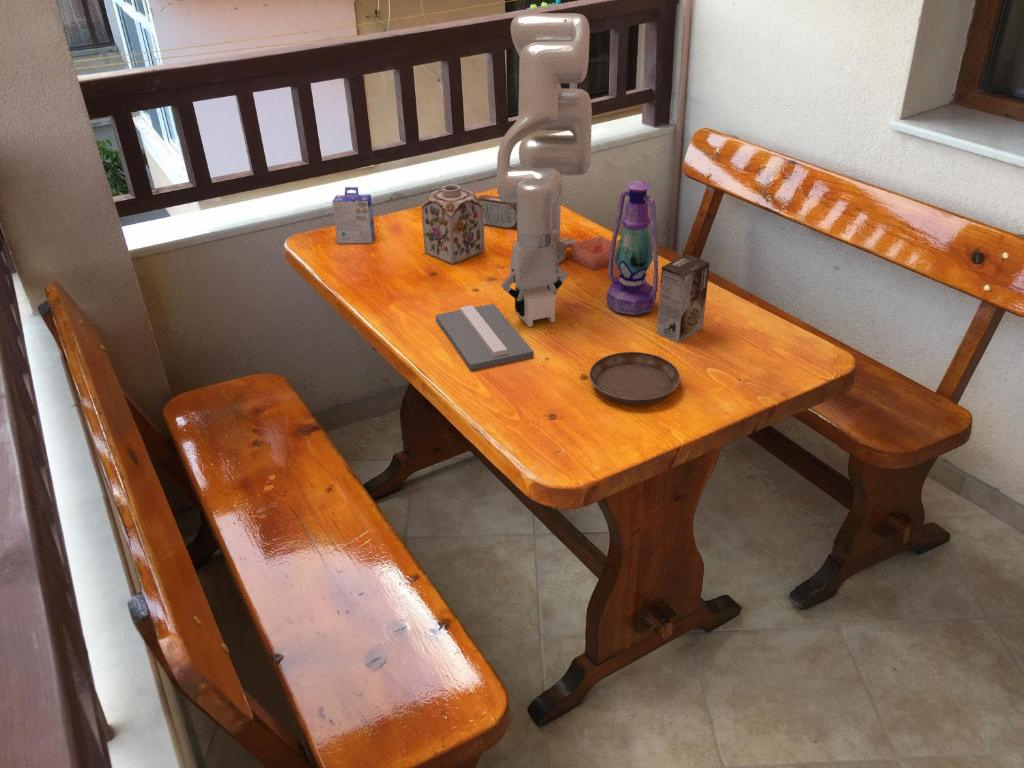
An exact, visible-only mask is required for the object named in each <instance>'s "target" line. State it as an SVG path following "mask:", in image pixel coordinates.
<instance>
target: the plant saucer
mask: <svg viewBox="0 0 1024 768" xmlns="http://www.w3.org/2000/svg"><path fill="white" fill-rule="evenodd" d="M588 375H589V376H588V377H589V380H590V382H591V384H592V385H593V386H594V387H595V389H596V390H597V391H598V392H599V393H600V394H601V395H602V396H603V397H605V398H607V399H608V400H610V401H612V402H615V403H617V404H621V405H627V406H634V407H635V406H636V407H637V406H646V405H647V406H648V405H651V404H655V403H656V404H657V402H660V401H662V400H664V399H665V398H667V397H668V396H669V395H671V394H672V393H673V392H674V391H675V389H676V388H677V387H678V386H679V384H680V380H681V375H680V372H679V370H678V368H677V367H676V366H675V365H674V364H673V363H672V362H670V361H669V360H667V359H665V358H662V357H661V356H658V355H655V354H653V353H652V354H651V353H646V352H640V351H639V352H638V351H625V352H624V351H623V352H617V353H613V354H612V353H611V354H608V355H606V356H604V357H602V358H600V359H598V360H596V361H595V363H593V364H592V365H591V367H590V369H589V374H588Z"/></svg>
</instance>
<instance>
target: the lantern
mask: <svg viewBox="0 0 1024 768" xmlns="http://www.w3.org/2000/svg"><path fill="white" fill-rule="evenodd" d="M625 187H626V188H627V190H624V191H622V192H621V193H620V197H619V199H618V201H619V202H618V209H617V213H616V218H615V219H616V220H615V224H614V228H613V233H612V236H611V241H612V242H611V248H610V254H609V266H608V267H607V268H608V272H607V277H608V279H609V281H610V282H611V285H610V286H609V287H608V290H607V291H606V305H607V306H608V307H609V308H610V309H612V310H613V311H614V312H616V313H617V314H623V315H631V316H637V315H642V314H645V313H651V312H652V310H653V308H654V306H655V303H656V299H657V297H658V296H657V295H658V294H657V293H658V287H659V285H658V283H659V256H658V255H659V254H658V252H659V251H658V232H657V212H656V211H657V209H656V202H655V199H654V197H652V196H650V195H648V192H647V191H648V190H650V189H651V188H652V184H650V183H649V182H646V181H643V180H633V181H629V182H627V184H626V185H625ZM626 196H627V197H629V198H628V199H629V200H628V202H627V203H626V204H625V199H626ZM624 204H625V215H624V216H622V215H623V210H624ZM649 210H650V217H649ZM622 217H624V218H622ZM621 223H622V225H623V227H624V228H623V231H622V233H621V236H620V239H619V240H620V242H619V245H618V249H617V253H616V256H615V262H616V265H617V267H618V268H619V270H620V272H621V273H620V277H621V278H615V277H613V262H614V252H615V245H616V241H618V233H619V231H620V225H621ZM649 225H650V229H651V231H650V232H651V236H650V232H649V230H648V227H649ZM651 241H652V242H651ZM652 262H653V279H652V280H653V281H652V285H651V284H650V283H649V282H647V278H646V277H647V273H646V272H647V271H648V269H649V267H650V266H651V264H652Z"/></svg>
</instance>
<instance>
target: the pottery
mask: <svg viewBox="0 0 1024 768" xmlns="http://www.w3.org/2000/svg"><path fill="white" fill-rule="evenodd" d="M577 242H578V243H574V244H572V247H571V257H570V259H571V260H573V261H574V262H577V263H578V264H580V265H583V266H584V267H586V268H588V269H589V270H591V271H597V270H599V269H602V268H606V267H609V254H610V248H611V242H612V240H610V239H608V238H605V237H604V236H601V235H600V236H595V237H592V238H589V239H586V240H582V241H577ZM619 242H620V239H619V240H618V239H617V240H616V245H615V252H614V262H613V277H614V278H615V279H620V278H621V277H620V273H621V272H620V270H619V268H618V267H617V265H616V262H615V256H616V253H617V249H618V245H619Z"/></svg>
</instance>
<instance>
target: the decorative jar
mask: <svg viewBox="0 0 1024 768" xmlns="http://www.w3.org/2000/svg"><path fill="white" fill-rule="evenodd" d="M421 220H422V234H423V235H422V236H423V246H424V254H427V255H429V256H432V257H434V258H437V259H439V260H441V261H444V262H446V263H448V264H450V265H455V264H457V263H460V262H462V261H465V260H467V259H470V258H472V257H475V256H477V255H480V254H482V253H484V252H485V225H484V221H483V205H482V203H481V202H480V200H479V199H478V197H477V196H476V195H475V193H474V192H473V191H470V190H468V189H465V188H461V186H460V185H458V184H447V185H444V186H443V187H442V188H441V189H438V190H435V191H433V192H431V193H430V194H429V195H428V196H427V197H426V199H425V200H424V201H423V203H422V205H421Z"/></svg>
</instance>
